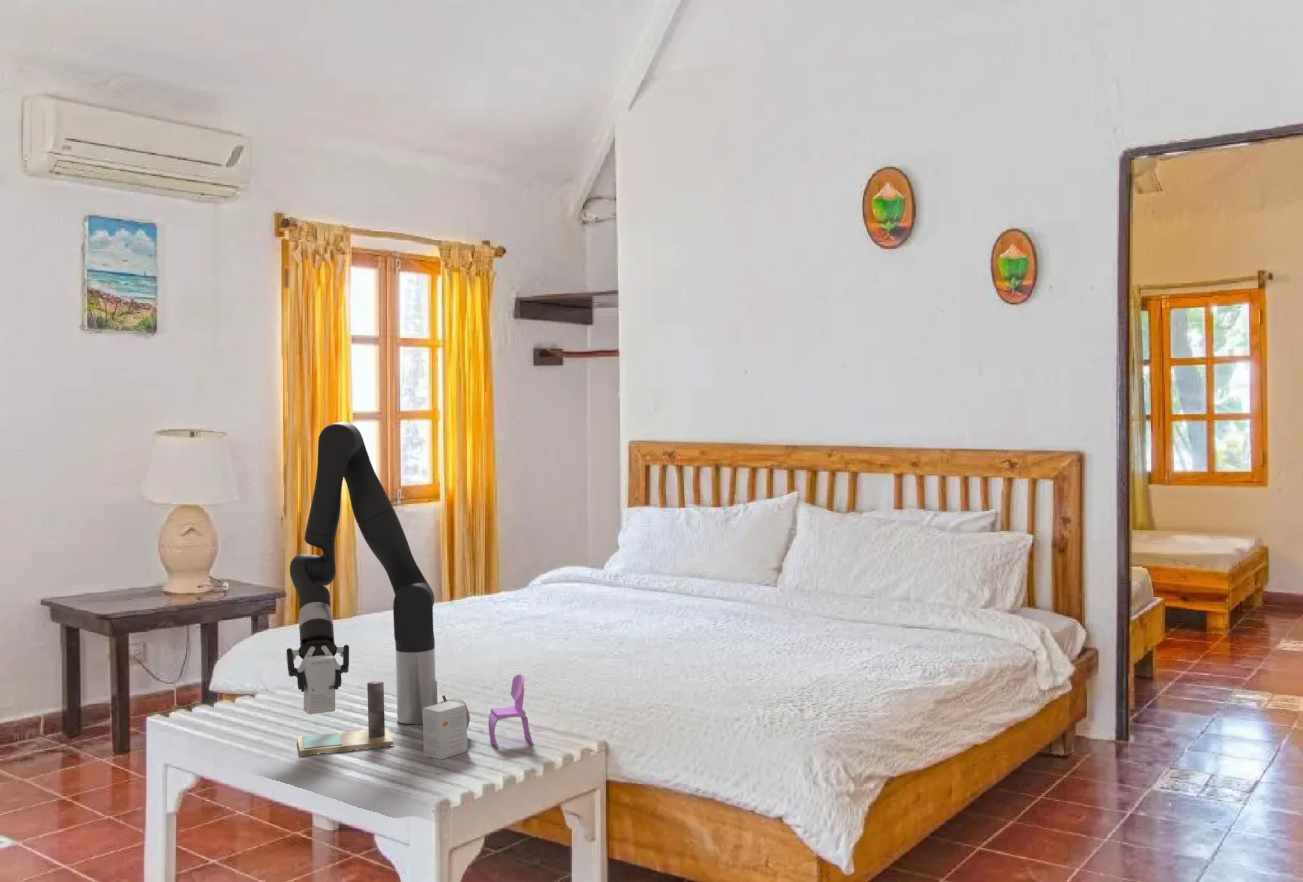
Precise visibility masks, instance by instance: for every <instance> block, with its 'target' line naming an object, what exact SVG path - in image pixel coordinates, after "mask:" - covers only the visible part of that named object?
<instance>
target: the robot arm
mask: <svg viewBox="0 0 1303 882" xmlns="http://www.w3.org/2000/svg"><path fill="white" fill-rule="evenodd" d="M362 435H363V434H361V431H360V430H359V429H358V428H357V427H356V426H355V425H354V424H353V423H350V422H348V421H347V422H346V421H338V422H334V423H330V424H328V425H327V426H326V427H324V428H323V429H322V430H321V432H320V433H319V436H318V443H317V464H316V465H317V466H316V468H317V469H316V478H315V485H314V490H313V495H312V500H311V505H310V509H309V513H308V514H309V515H308V519H307V523H306V529H305V533H304V541H305V543H306V544H307V545H310V546H312V547H316V548H318V549H321V553H322V554H321V555H317V554H309V553H299V554H296V555H295V556H294V557H293V558H292V559H291V561H290V564H289V575H290V578H291V582H292V583H293V586H294V588H295V589H294V590H295V591H296V594H297V597H298V602H299V605H298V606H299V617H298V622H299V624H298V628H299V629H298V630H299V644H300V645H299V646H300V647H298V649H292V648H291V647H290V648H287V649H286V654H285V657H286V664H287V671H288V676H289V677H296V680H297V689H298V690H299V691H300V692H301V693H304V691H305V683H304V657H313V656H323V655H330V656H333V657H334V658H335V691H336V690H339V688H340V687H341V686H342V674H346V673H348V672H349V666H350V646H349V645H348V644H344V645H343V646H337V644H336V643H335V632H334V631H335V629H334V618H333V613H332V607H331V593H330V591H329V589H328V588H327V587H326V586H328V585H330V584H331V583H332V582H333V581H334V579H335V578H336V571H337V570H336V558H335V557H336V556H335V545H336V544H335V543H336V541H335V540H336V535H337V530H338V526H339V522H340V521H339V520H340V514H341V506H342V505H341V503H342V501H341V500H342V499H341V497H342V487H343V481H345V483H346V486H347V490H348V495H349V500H350V504H351V509H352V513H353V516H354V519H355V522H356V524H357V526H358V528H359V531H360V532H361V535H362V537H363V539H364V541H365V543H366V544H367V546H368V547H369V549H370V551H371V552H372V553H373V555H374V556H375V557H376V559H377V560H378V561H379V562H380V564H381V566H382V567H383V568H384V570H385V572H386V575H387V576H388V580H389V581H390V585H391V588H392V590H393V593H394V597H393V602H392V603H393V604H392V605H393V606H392V607H393V608H392V610H393V612H392V613H393V634H394V637H393V638H394V642H395V676H396V677H395V678H396V680H395V681H396V708H397V709H396V712H397V713H396V716H397V722H398V723H400V724H404V725H405V724H406V725H420V724H422V725H423V708H425V707H429V706H433V705H436V704H438V703H439V702H438V681H437V679H436V649H435V645H436V644H435V643H436V641H435V640H436V639H435V632H434V612H433V611H434V608H433V607H434V604H435V594H434V591H433V589H432V587H431V586H430V584H429V583H428V581H427V580H426V577H425V576H424V574H423V573H422V571H421V569H420V568H419V566H418V564H417V562H416V560H415V558H414V555H413V554H412V551H411V547H410V545H409V542H408V540H407V537H406V534H405V531H404V529H403V527H402V524H401V521H400V519H399V517H398V515H397V512H396V511H395V508H394V505H393V504H392V503H391V501H390V499H389V497H388V495H387V492H386V490H385V489H384V486H383V485H382V483H381V481H380V479H379V478H378V476H377V474H376V472H375V469H374V467H373V465H372V462H371V459H370V456H369V452H368V451H367V448H366V444H365V441H364V438H363V436H362ZM337 653H338V654H339V656H340V657H341V658H342V664H341V665H340V664H339V662H338V661H337V659H336V657H335V656H336V655H337ZM298 656H299V658H301V659H302V660H301V663H300V665H299V666H298V668H297V667H295V662H294V661H295V660H296V659H297V657H298Z"/></svg>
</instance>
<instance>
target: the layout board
mask: <svg viewBox="0 0 1303 882" xmlns="http://www.w3.org/2000/svg"><path fill="white" fill-rule="evenodd" d="M384 686H385V684H384V681H382V680H381V681H380V680H374V681H369V682H367V683H366V689H367V723H368V724H367V725H368V727H367V729H360V730H350V731H341V732H340V731H339V732H331V733H321V734H309V735H303V736H302V735H300V736H297V746H298V753H299V757H306V755H307V756H313V755H312V754H317V753H326V754H333V753H343V752H351V751H352V750H355V751H358V750H357V749H364V750H367V749H366V748H374V749H381V748H380V747H383V748H387V747H386V746H391V745H393V746H394V740H393V737H392V735H391V732H390V730H389V728H388V727H385V726H386V725H385V724H386V723H385V720H386V719H385V690H384V689H385V687H384ZM352 752H353V751H352ZM317 755H318V754H317Z"/></svg>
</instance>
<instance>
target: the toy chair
mask: <svg viewBox="0 0 1303 882" xmlns="http://www.w3.org/2000/svg"><path fill="white" fill-rule="evenodd" d="M524 686H525V675H523V674H517V675H515V676H514V677H513V679H512V682H511V689H510V695H511V697H512V699H513V700H514V705H512V706H506V707H491V708H490V713H489V715H488V732H489V733H488V734H489V739H490V740H489V741H490V742H491V744H492V745H493V746H494V747H495V748H496V749H499V745H498V742H497V739H496V738H497V737H496V735H495V734H496V731H495V730H496V726H497V723H498V721H500V720H503V719H509V718H520V719H521V722H522V728H523V734H524V736H523V737H524V738H525V739H526V740H527V741H528V742H529V743H530V744H531V745H534V742H533V739H532V736H531V735H532V734H531V732H530V726H529V719H528V716H527V714H526V711H525V710H523V707H524V706H523V705H524V696H525V688H524Z"/></svg>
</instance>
